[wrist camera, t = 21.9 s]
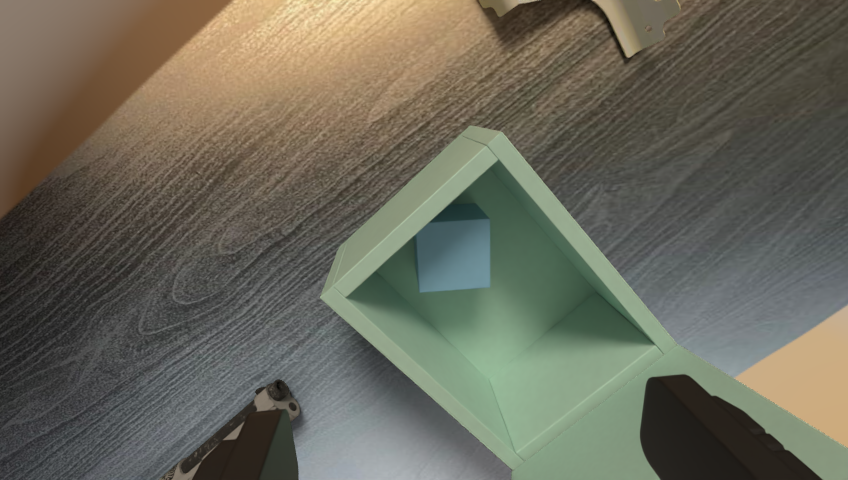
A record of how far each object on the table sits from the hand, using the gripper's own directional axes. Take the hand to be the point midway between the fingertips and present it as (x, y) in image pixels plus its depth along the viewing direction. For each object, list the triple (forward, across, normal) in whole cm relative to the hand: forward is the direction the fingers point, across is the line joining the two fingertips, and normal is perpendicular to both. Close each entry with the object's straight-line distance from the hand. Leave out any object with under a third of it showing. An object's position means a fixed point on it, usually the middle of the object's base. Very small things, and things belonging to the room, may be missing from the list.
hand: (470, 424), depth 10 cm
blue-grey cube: (+22, -2, +2) cm, 22 cm away
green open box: (+23, -5, +6) cm, 24 cm away
